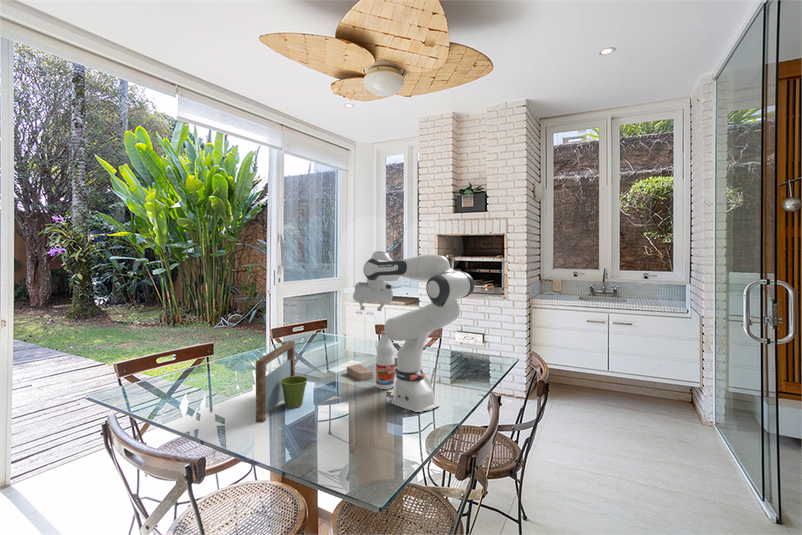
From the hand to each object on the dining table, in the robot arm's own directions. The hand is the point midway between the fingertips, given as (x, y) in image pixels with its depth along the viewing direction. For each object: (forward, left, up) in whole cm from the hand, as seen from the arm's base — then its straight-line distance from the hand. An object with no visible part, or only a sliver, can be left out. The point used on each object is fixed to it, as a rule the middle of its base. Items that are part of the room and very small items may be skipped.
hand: (370, 310), depth 192 cm
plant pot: (-1, +40, -39) cm, 56 cm away
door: (+5, +46, -38) cm, 60 cm away
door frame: (+4, +46, -39) cm, 60 cm away
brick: (+19, -5, -39) cm, 44 cm away
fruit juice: (-4, -6, -39) cm, 40 cm away
